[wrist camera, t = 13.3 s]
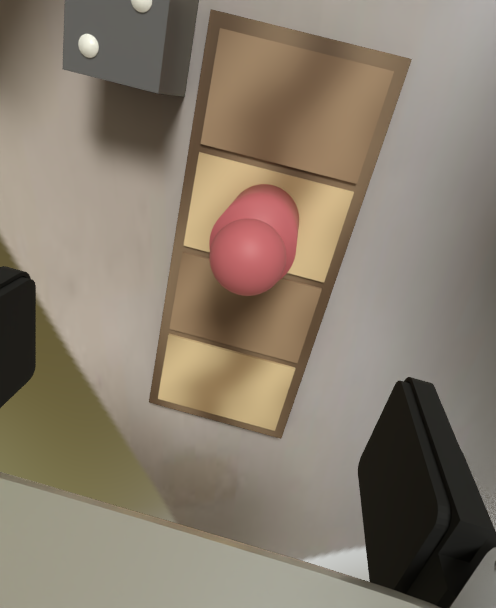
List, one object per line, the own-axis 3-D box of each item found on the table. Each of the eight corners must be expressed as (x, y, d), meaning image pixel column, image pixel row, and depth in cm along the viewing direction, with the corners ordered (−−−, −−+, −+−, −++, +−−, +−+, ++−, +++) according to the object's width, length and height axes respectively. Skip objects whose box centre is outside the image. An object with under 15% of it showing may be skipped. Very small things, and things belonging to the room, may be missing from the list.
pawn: (307, 194, 26) (306, 235, 17) (288, 261, 28) (278, 327, 19) (237, 176, 26) (201, 207, 18) (223, 243, 28) (185, 302, 19)
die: (199, -2, 24) (172, -29, 19) (185, 96, 26) (157, 93, 21) (113, -23, 24) (65, -55, 19) (105, 76, 26) (61, 68, 21)
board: (408, 61, 23) (412, 58, 22) (281, 430, 35) (281, 440, 34) (214, 13, 24) (209, 8, 23) (153, 394, 35) (148, 403, 34)
